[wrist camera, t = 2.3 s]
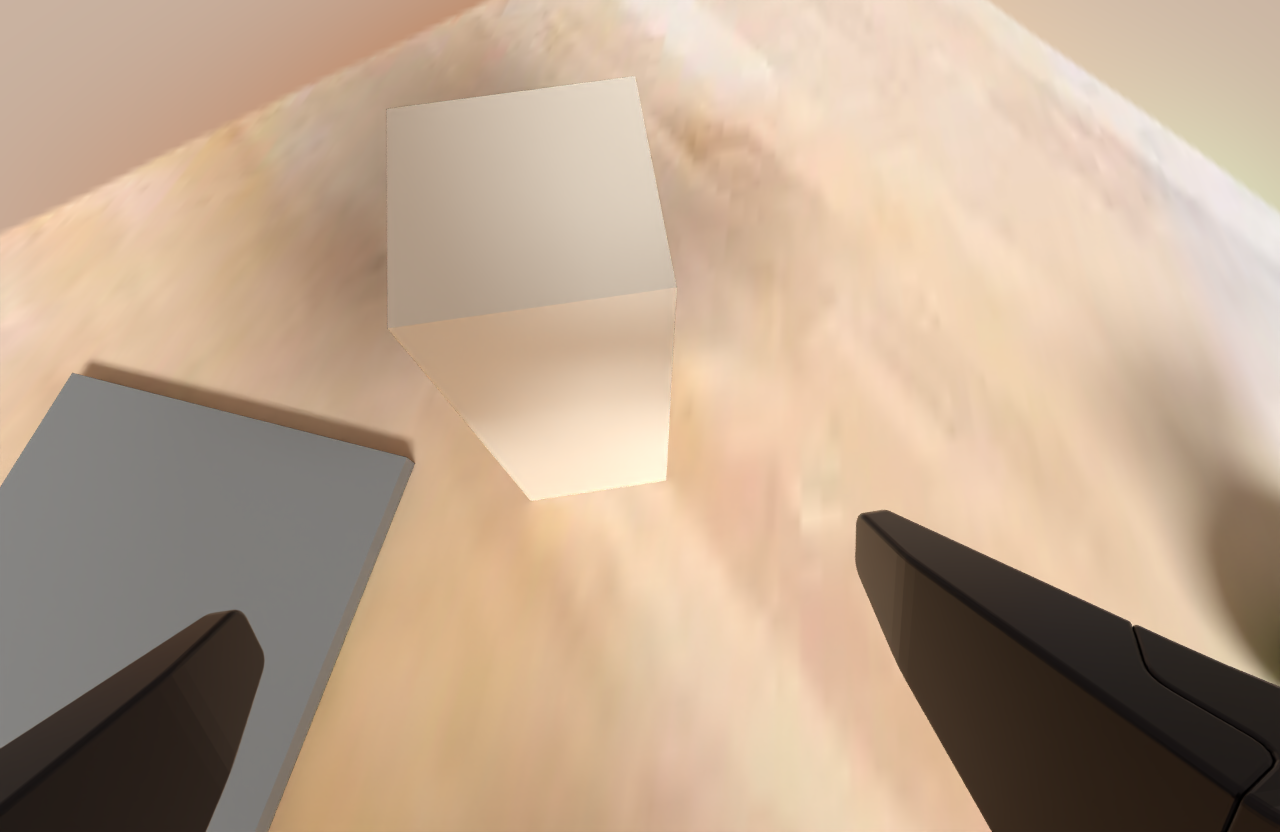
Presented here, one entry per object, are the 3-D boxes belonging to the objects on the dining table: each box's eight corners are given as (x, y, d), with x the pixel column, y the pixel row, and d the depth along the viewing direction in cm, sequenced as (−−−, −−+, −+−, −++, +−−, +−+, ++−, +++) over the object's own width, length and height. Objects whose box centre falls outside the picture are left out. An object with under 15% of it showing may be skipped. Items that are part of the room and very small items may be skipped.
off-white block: (665, 480, 23) (676, 287, 11) (530, 501, 23) (387, 328, 11) (645, 359, 25) (635, 76, 13) (520, 377, 25) (386, 108, 12)
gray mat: (414, 463, 23) (406, 457, 23) (240, 900, 19) (222, 910, 18) (90, 381, 25) (72, 372, 24) (-147, 764, 20) (-179, 769, 19)
